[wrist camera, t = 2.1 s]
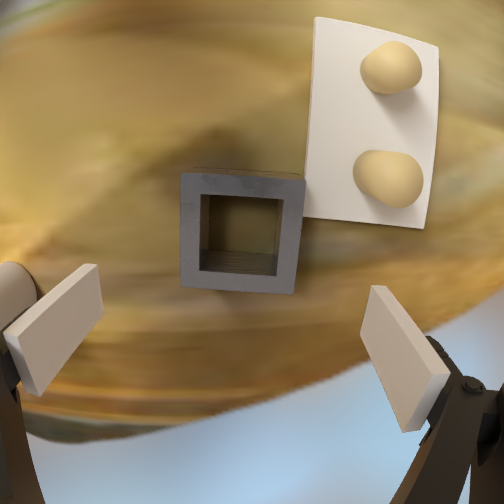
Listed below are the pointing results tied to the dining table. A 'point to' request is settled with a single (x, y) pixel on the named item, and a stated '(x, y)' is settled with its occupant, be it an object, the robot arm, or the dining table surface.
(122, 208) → the dining table surface
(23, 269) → the cup
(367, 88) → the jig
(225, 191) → the collar
